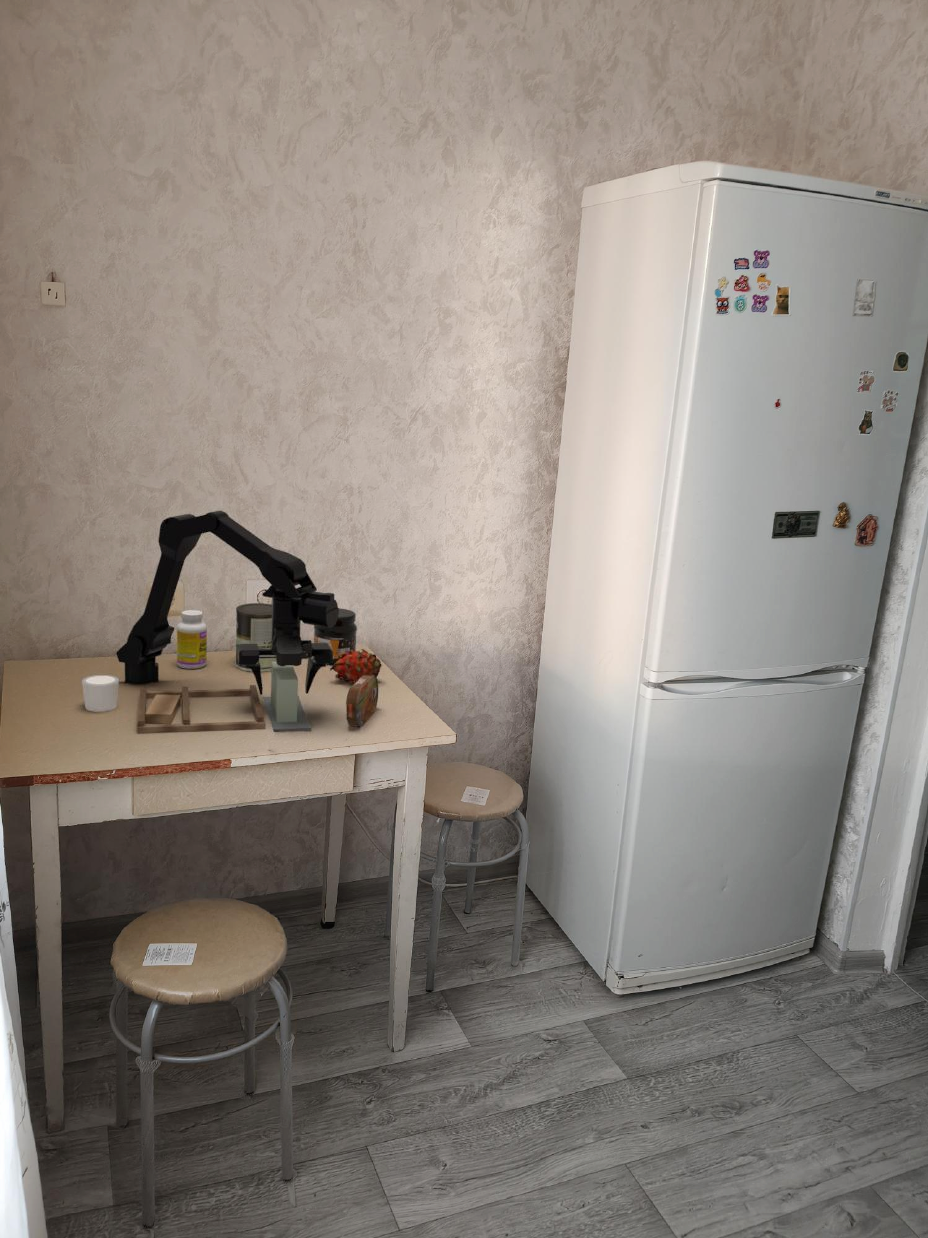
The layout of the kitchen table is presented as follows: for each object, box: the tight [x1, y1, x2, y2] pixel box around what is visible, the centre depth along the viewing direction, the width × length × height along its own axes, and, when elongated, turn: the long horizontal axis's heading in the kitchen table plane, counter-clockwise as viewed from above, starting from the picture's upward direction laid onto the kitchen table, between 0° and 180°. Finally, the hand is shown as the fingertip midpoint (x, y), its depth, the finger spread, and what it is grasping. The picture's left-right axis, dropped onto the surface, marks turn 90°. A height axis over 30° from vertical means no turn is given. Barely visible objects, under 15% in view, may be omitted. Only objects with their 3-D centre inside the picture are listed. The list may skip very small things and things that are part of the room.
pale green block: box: [270, 662, 299, 723], centre depth 194 cm, size 4×12×9 cm, turn 17°
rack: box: [137, 684, 266, 735], centre depth 189 cm, size 23×20×4 cm
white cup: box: [81, 674, 120, 713], centre depth 188 cm, size 7×7×7 cm
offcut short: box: [145, 695, 182, 725], centre depth 187 cm, size 5×11×2 cm, turn 7°
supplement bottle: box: [176, 609, 208, 670], centre depth 220 cm, size 7×7×13 cm
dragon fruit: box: [329, 648, 383, 684], centre depth 218 cm, size 8×8×12 cm
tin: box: [345, 675, 379, 727], centre depth 195 cm, size 15×3×8 cm, turn 168°
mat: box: [262, 695, 311, 733], centre depth 195 cm, size 8×19×1 cm, turn 17°
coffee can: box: [234, 602, 277, 673], centre depth 223 cm, size 10×10×14 cm
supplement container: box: [313, 607, 358, 666], centre depth 233 cm, size 10×10×12 cm
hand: (284, 693), depth 194 cm, fingers open, 9 cm apart
